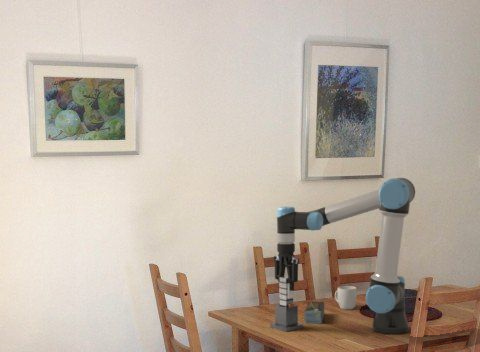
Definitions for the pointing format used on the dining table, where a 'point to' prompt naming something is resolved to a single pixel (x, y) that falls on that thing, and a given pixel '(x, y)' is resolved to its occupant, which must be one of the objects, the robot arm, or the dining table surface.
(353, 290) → the mug
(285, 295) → the column
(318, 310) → the beverage carton
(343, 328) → the dining table surface
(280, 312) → the stand
